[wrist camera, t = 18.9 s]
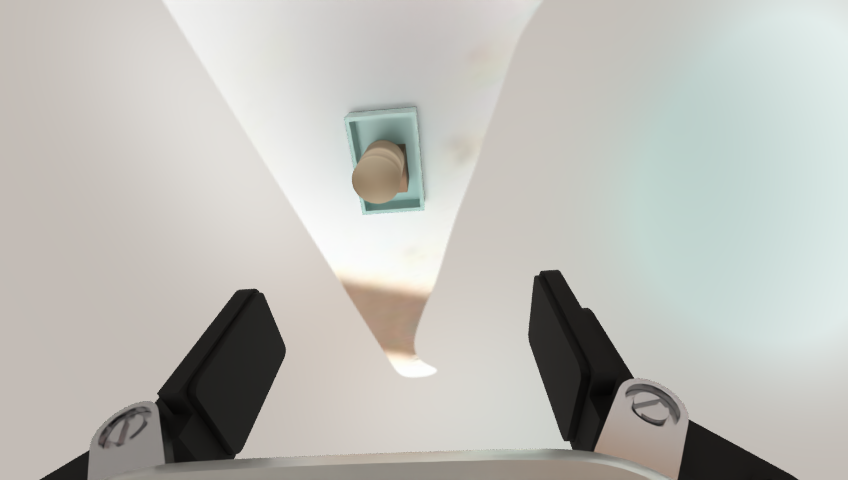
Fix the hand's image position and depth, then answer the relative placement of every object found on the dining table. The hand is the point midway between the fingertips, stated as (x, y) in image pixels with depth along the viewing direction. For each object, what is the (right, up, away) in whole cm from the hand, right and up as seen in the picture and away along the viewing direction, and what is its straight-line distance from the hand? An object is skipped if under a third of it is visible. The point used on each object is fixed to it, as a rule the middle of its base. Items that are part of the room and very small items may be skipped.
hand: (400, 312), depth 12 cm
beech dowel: (-3, +10, +21) cm, 24 cm away
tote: (-3, +12, +26) cm, 29 cm away
